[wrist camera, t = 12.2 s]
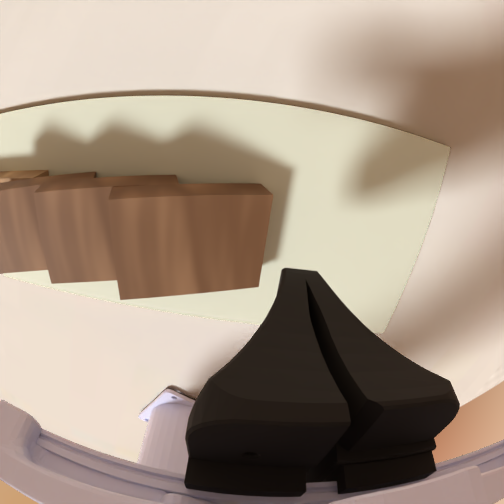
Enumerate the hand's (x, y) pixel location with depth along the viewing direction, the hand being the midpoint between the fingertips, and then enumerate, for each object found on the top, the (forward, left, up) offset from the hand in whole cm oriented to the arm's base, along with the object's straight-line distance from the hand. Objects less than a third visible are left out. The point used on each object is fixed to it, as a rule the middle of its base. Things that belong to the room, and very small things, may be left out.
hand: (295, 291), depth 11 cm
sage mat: (+6, +4, -5) cm, 9 cm away
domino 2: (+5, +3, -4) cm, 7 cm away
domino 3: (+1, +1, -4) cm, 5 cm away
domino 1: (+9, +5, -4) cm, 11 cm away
